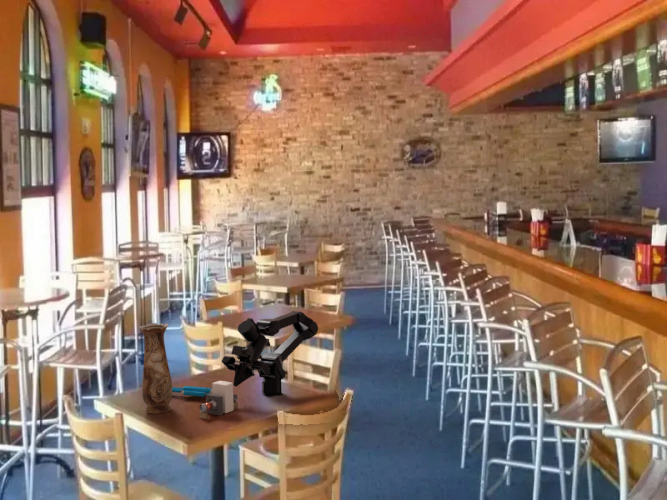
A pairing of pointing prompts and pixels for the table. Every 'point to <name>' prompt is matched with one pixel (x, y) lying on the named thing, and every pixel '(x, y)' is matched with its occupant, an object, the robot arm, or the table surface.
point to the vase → (156, 370)
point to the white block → (224, 394)
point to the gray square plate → (218, 401)
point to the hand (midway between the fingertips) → (234, 385)
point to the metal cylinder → (213, 407)
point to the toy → (193, 391)
